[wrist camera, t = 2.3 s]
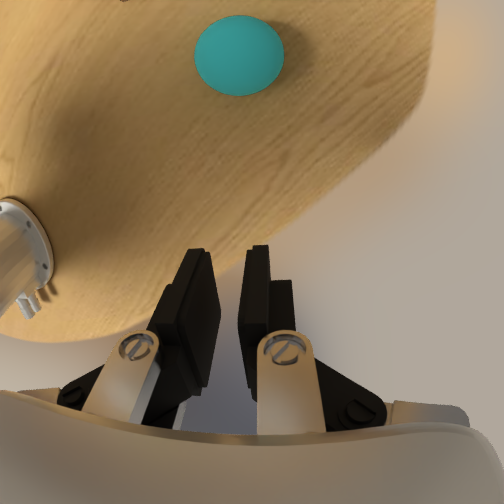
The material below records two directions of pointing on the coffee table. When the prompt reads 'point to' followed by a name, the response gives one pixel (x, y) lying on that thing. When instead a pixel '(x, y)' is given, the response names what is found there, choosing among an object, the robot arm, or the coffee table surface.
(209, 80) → the ball
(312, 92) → the coffee table surface
